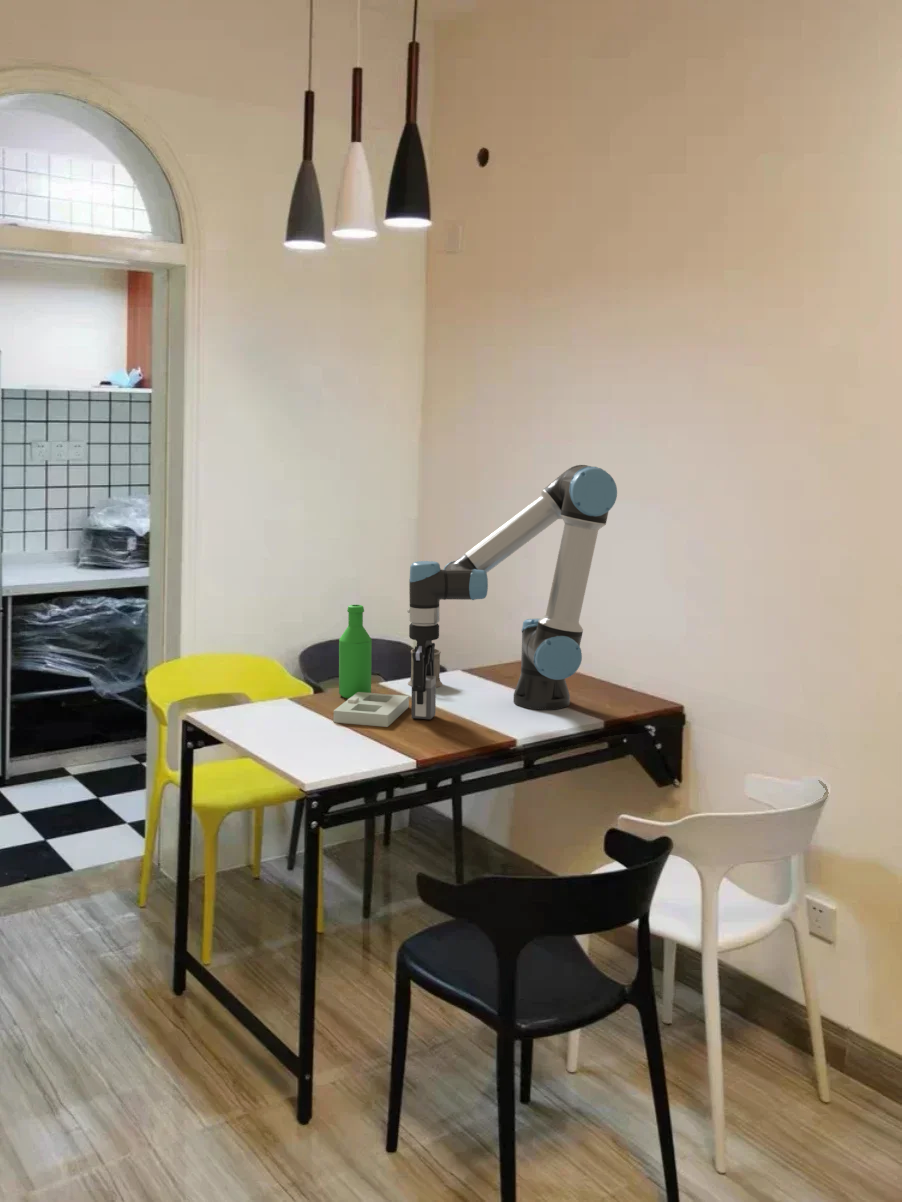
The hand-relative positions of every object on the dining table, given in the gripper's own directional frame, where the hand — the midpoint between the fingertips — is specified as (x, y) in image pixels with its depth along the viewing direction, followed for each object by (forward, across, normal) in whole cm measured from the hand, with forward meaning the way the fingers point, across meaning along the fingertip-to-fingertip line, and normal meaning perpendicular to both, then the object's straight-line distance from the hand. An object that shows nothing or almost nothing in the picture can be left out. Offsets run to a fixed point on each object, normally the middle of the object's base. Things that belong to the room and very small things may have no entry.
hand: (423, 712), depth 287 cm
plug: (+1, 0, 0) cm, 1 cm away
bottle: (+1, -16, -23) cm, 28 cm away
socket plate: (+1, +1, -13) cm, 13 cm away
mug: (+1, -33, -8) cm, 34 cm away
